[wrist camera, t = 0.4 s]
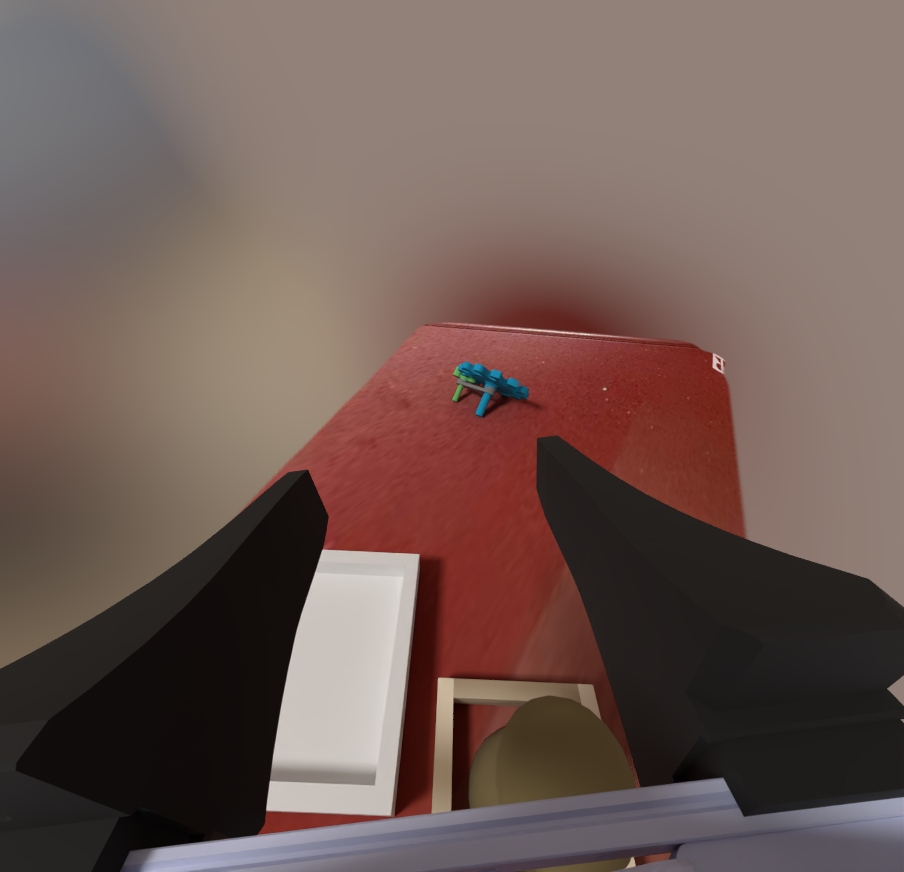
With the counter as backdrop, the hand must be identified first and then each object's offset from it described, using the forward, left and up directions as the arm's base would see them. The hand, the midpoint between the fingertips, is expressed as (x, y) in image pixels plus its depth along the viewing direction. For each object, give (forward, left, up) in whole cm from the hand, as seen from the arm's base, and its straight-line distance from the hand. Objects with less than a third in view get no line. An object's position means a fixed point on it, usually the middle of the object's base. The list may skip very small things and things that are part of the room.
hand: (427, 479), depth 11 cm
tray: (0, +8, -20) cm, 21 cm away
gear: (+32, -6, -20) cm, 38 cm away
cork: (-6, -6, -20) cm, 21 cm away
